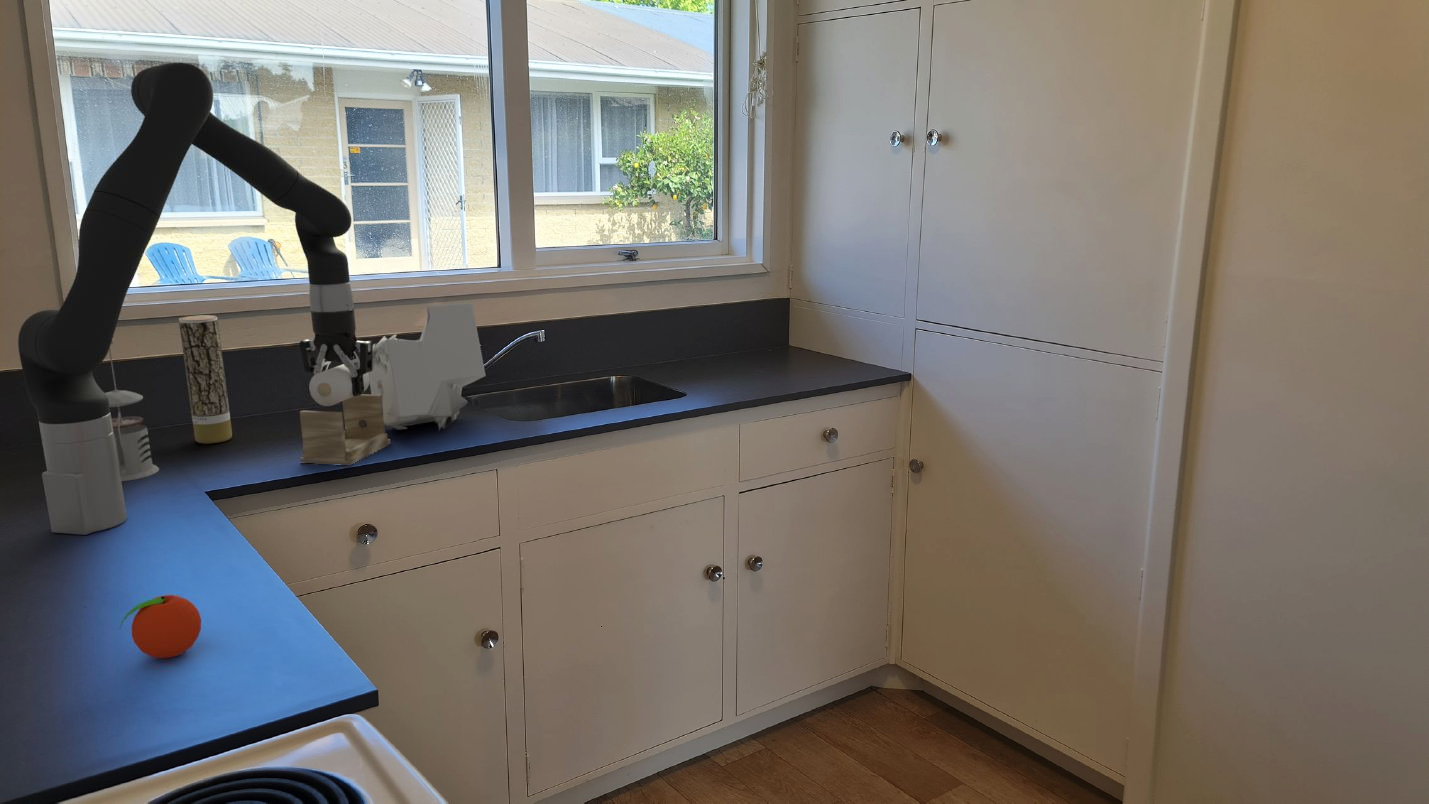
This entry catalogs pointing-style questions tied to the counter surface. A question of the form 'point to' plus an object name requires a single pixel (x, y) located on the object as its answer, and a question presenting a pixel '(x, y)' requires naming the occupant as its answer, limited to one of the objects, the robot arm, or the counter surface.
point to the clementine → (165, 626)
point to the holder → (344, 432)
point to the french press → (130, 437)
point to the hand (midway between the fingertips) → (341, 394)
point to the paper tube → (205, 378)
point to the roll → (333, 385)
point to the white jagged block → (428, 368)
